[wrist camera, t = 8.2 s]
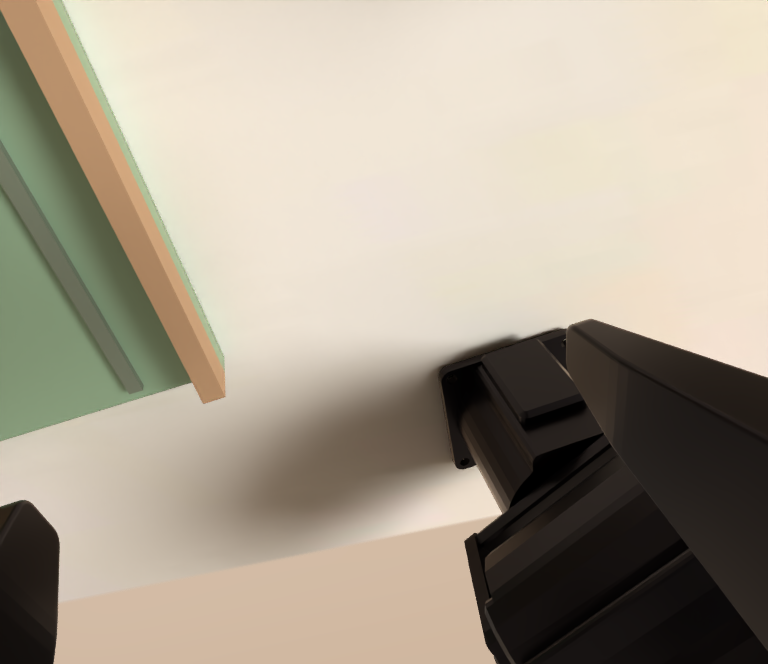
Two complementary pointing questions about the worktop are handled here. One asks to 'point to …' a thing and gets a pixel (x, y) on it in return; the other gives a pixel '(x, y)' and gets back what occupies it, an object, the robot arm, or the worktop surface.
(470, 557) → the robot arm
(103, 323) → the pitch
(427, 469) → the worktop surface
